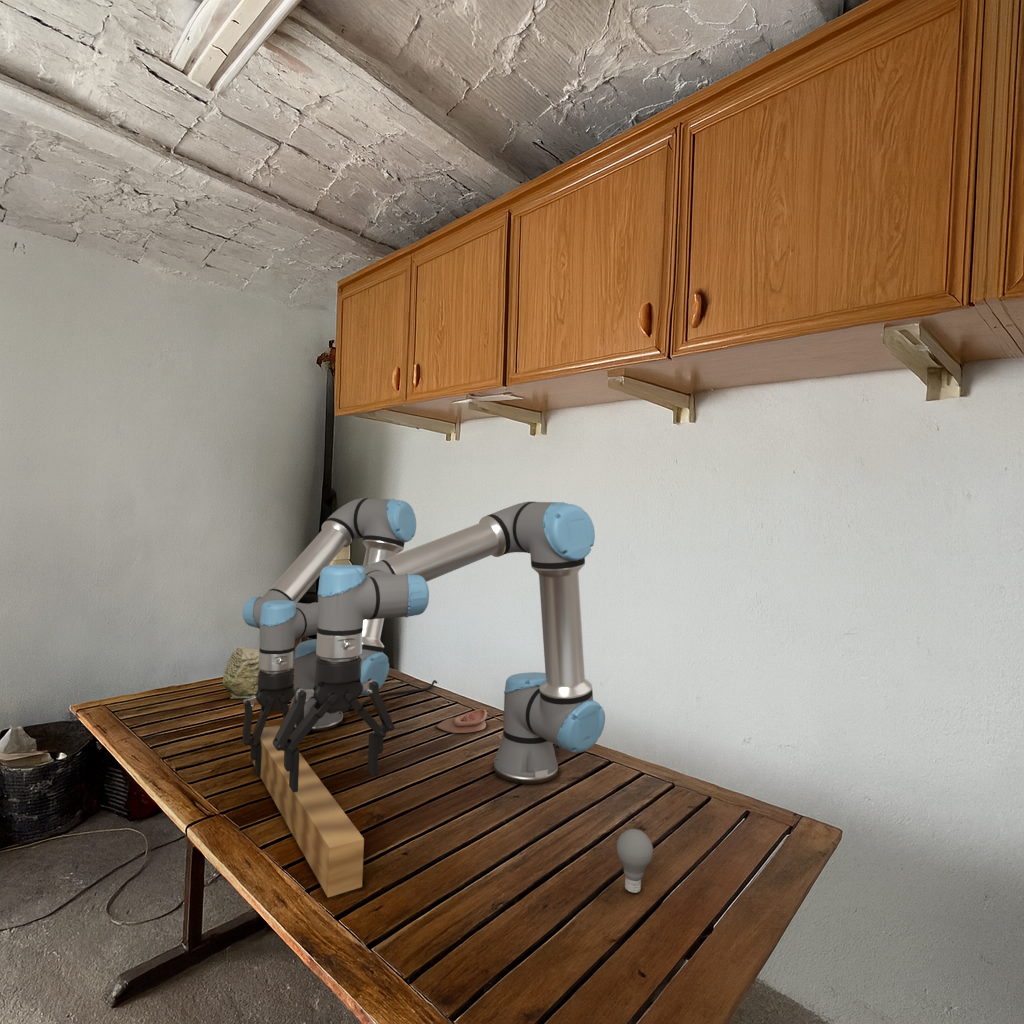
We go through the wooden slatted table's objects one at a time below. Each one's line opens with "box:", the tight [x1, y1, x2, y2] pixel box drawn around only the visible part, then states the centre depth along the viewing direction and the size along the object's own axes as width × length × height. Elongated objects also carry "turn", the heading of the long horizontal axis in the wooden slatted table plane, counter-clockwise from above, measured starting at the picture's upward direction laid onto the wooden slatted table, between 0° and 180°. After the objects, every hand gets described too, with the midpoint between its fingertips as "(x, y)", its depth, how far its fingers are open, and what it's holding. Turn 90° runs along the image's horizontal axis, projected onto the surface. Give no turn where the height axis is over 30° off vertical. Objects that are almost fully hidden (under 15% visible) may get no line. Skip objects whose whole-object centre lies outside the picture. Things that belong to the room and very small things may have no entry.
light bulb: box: [615, 828, 654, 894], centre depth 106 cm, size 6×6×10 cm
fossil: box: [222, 646, 260, 699], centre depth 198 cm, size 9×18×15 cm, turn 132°
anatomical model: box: [436, 708, 488, 734], centre depth 178 cm, size 13×4×12 cm
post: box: [252, 724, 365, 898], centre depth 126 cm, size 58×6×8 cm, turn 33°
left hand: (272, 770), depth 144 cm, fingers closed on post, 6 cm apart
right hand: (334, 780), depth 108 cm, fingers open, 13 cm apart
